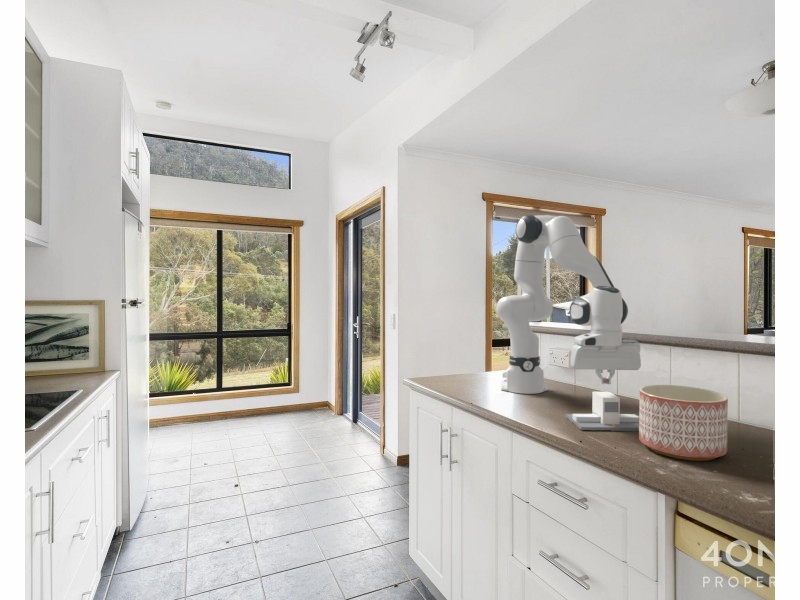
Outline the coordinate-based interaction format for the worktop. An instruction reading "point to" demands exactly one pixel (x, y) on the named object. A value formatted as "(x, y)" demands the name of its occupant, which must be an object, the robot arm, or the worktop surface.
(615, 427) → the rail panel
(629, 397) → the worktop surface
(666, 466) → the worktop surface
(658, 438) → the planter
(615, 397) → the block
